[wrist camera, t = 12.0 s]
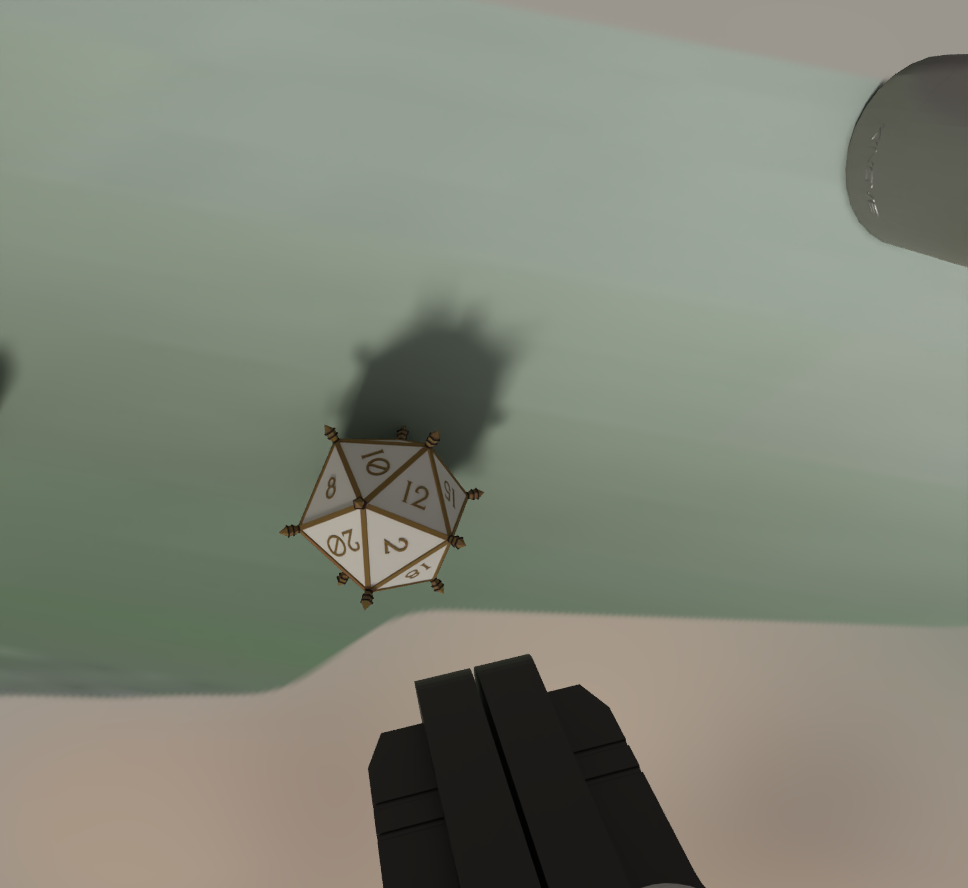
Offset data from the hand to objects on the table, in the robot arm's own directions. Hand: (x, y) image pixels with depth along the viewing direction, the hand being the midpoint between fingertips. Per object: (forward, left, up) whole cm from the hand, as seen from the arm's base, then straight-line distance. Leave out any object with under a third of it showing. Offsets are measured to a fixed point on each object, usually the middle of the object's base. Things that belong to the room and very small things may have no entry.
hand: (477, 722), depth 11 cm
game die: (0, +12, -32) cm, 34 cm away
